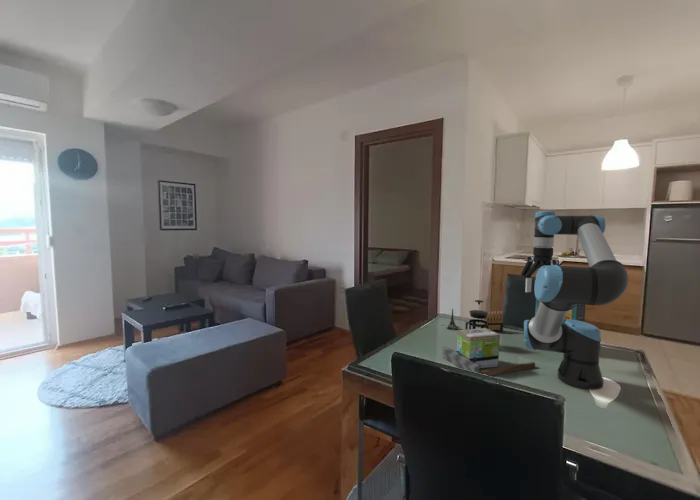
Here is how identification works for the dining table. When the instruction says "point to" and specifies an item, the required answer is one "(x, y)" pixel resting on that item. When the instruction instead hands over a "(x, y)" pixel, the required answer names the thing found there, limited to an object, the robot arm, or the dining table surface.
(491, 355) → the tea box
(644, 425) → the dining table surface
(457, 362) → the guide track
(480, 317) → the french press
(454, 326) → the eiffel tower figurine
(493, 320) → the ammunition clip
